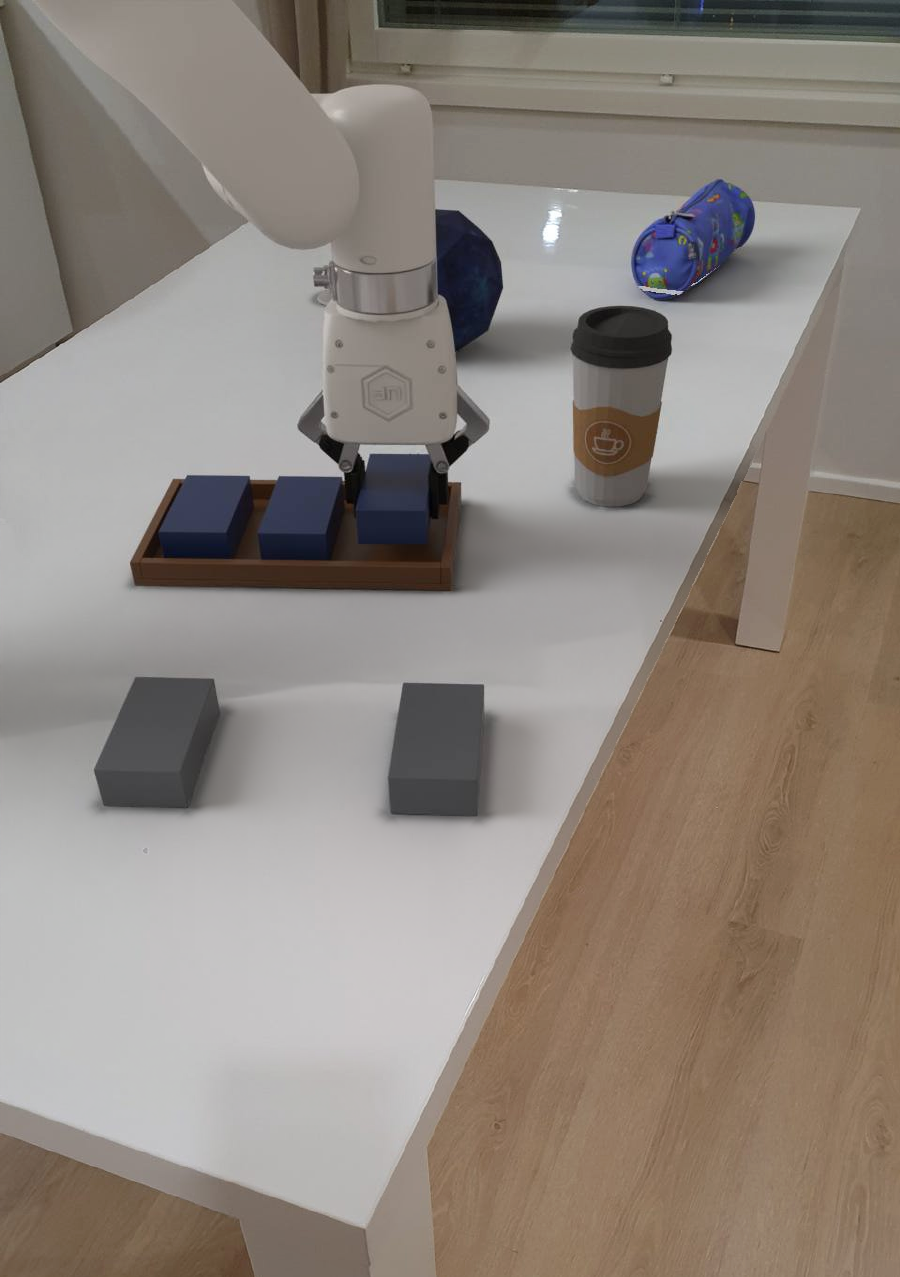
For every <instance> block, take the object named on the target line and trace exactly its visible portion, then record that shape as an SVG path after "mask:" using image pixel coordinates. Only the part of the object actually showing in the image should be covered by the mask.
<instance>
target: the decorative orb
mask: <svg viewBox="0 0 900 1277" xmlns="http://www.w3.org/2000/svg"><path fill="white" fill-rule="evenodd" d="M435 222H436V256H437V284H438V295H441V296H442V297H444V298H445V300H446V303H447V307H448V311H449V315H450V320H451V326H452V332H453V339H454V347H455V354H456V353H457V352H459V351H461V350H462V349H463V348H466V346H468V345H469V344H471V343H472V342H474V341H475V340H477V339H478V338H479V337H481V336H483V335H484V334H485V333H487V332H488V331H489V329H490V327H491V324H492V321H493V318H494V316H495V313H496V309H497V308H498V304H499V301H500V298H501V295H502V292H503V290H504V278H503V267H502V260H501V258H500V256H499V254H498V251H497V249H496V247H495V245H494V241H493V240H491V238H490V237H488V235H487V234H486V233H485V232H484V231H483V230H482V229H481V228H480V227H479V226H478V225H476V224H475V223H474V222H473V221H471V220H470V218H468V217H467V216H466V215H465V214H464V213H462V212H461V211H460V210H455V209H437V208H435Z"/></svg>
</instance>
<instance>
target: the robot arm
mask: <svg viewBox="0 0 900 1277" xmlns="http://www.w3.org/2000/svg"><path fill="white" fill-rule="evenodd" d="M31 2H32V3H34V5H35V6H36V7H37V8H38V9H39V11H40V12H41V13H42V14H43V15H44V16H45V17H46V18H47V19H48V20H49V21H50V22H51V24H53V25H54V27H56V29H57V30H58V31H60V33H61V34H62V35H64V36H65V37H66V38H67V39H68V40H69V41H70V43H71V44H72V45H74V46H75V47H76V49H78V51H80V53H82V54H83V55H84V56H85V57H86V58H87V59H88V60H89V61H91V62H92V63H93V64H94V65H96V67H98V68H99V69H100V70H102V71H103V72H105V73H106V74H107V75H108V76H109V77H111V78H112V79H113V80H114V81H116V82H117V83H118V84H120V85H121V86H122V87H123V88H125V89H126V90H127V91H128V92H129V93H131V94H132V95H133V96H134V97H135V98H136V99H138V101H140V103H142V104H143V105H144V106H145V107H146V108H147V109H148V110H149V111H150V112H151V113H152V114H153V115H154V116H155V117H156V118H157V119H158V120H159V121H160V122H161V123H162V124H163V125H164V126H165V127H166V128H167V129H168V130H169V131H170V132H171V133H172V134H173V135H174V136H175V138H177V139H178V140H179V141H180V142H181V143H182V144H183V146H184V147H186V149H187V150H188V151H189V152H190V153H191V154H192V155H193V156H194V157H195V158H196V159H197V160H198V161H199V163H200V164H201V166H202V169H203V171H204V174H205V175H204V176H205V177H206V179H207V180H208V182H209V184H210V186H211V188H212V190H214V192H215V193H216V194H217V195H218V197H219V198H221V200H222V201H223V202H224V203H226V204H227V205H228V206H229V207H230V208H231V209H233V211H235V212H236V213H238V214H239V215H240V216H241V217H243V218H244V219H245V220H246V221H248V222H249V223H250V224H251V225H252V226H253V227H255V228H256V229H257V230H258V231H259V232H260V233H261V234H262V235H263V236H265V237H266V238H267V239H268V240H270V241H272V242H274V243H275V244H277V245H279V246H282V247H285V248H288V249H291V250H301V251H304V250H315V249H318V248H321V247H324V246H326V245H328V244H330V252H331V259H332V260H330V261H329V263H328V264H324V265H323V267H321V266H319V267H318V266H315V267H313V270H312V279H313V286H314V287H315V288H323V289H325V290H330V293H333V299H331V300H330V301H329V303H328V304H327V305H325V308H324V315H323V322H322V323H323V324H322V338H321V339H322V342H321V344H322V346H321V364H322V365H321V367H322V370H321V371H322V390H321V391H320V392H319V394H318V395H317V396H316V397H315V398H314V399H313V401H312V402H311V403H310V404H309V406H308V407H307V408H306V409H305V411H304V412H303V413H302V414H301V415H300V417H299V419H298V422H297V423H296V424H297V427H296V428H297V430H298V431H299V432H300V433H302V434H303V435H304V436H305V437H307V438H308V439H309V440H310V441H311V442H313V443H315V444H316V445H318V447H319V449H320V450H321V451H322V452H323V453H325V454H326V455H327V456H328V457H329V458H330V459H331V460H332V461H333V462H334V463H336V464H337V465H338V466H337V467H338V469H339V471H341V472H342V473H343V481H345V492H346V502H347V504H353V505H354V517H355V518H356V511H355V510H356V506H357V502H358V499H359V495H360V491H361V488H362V484H363V480H364V476H365V471H366V462H365V459H363V456H361V454H360V453H359V450H360V447H361V445H368V446H371V445H372V446H425V449H426V451H427V454H429V456H430V459H431V462H430V468H429V474H428V487H429V503H430V517H432V519H439V512H440V505H448V482H449V470H450V467H451V466H452V465H453V464H455V463H456V462H457V461H458V460H459V458H461V457H462V456H463V455H464V454H465V453H466V452H467V451H468V450H469V448H470V447H471V446H472V445H474V444H476V443H477V442H478V441H479V440H480V439H481V438H482V437H484V436H485V435H486V434H487V433H488V432H489V430H490V424H491V420H490V418H489V416H488V415H487V414H486V413H485V412H484V411H483V410H482V409H481V408H480V407H479V405H477V403H475V401H474V400H473V399H472V398H471V397H470V396H469V395H468V394H467V393H466V392H465V391H464V390H463V389H462V388H461V386H460V385H459V383H458V369H457V359H456V358H457V357H456V353H455V347H454V339H453V332H452V326H451V320H450V315H449V311H448V307H447V303H446V300H445V298H444V297H442V296H441V295H438V284H437V256H436V222H435V209H436V187H435V184H436V183H435V148H434V122H433V120H434V119H433V111H432V108H431V105H430V103H429V101H428V99H427V98H426V96H425V95H424V94H423V93H422V92H420V91H419V90H417V89H415V88H412V87H409V86H405V85H399V84H386V83H385V84H383V83H382V84H380V83H379V84H377V83H376V84H362V85H356V86H355V85H354V86H349V87H346V88H343V89H340V90H339V89H338V90H337V91H335V92H332V93H310V91H309V90H308V89H307V87H306V86H305V85H304V83H303V82H302V81H301V80H300V78H299V77H298V76H297V75H296V73H295V72H294V71H293V70H292V68H291V67H290V66H289V65H288V63H287V62H286V61H285V59H283V57H282V56H281V55H280V54H279V53H278V51H277V50H276V49H275V48H274V46H272V44H271V43H270V42H269V41H268V39H266V37H265V36H264V35H263V34H262V32H260V30H259V29H258V28H257V26H256V25H255V24H254V23H253V22H252V21H251V20H250V19H249V17H247V15H246V14H245V13H244V12H243V11H242V9H240V7H239V6H238V5H237V4H236V3H235V1H233V0H31ZM458 416H459V417H460V419H462V421H463V422H464V423H465V425H464V426H463V428H461V429H460V430H456V429H457V423H458ZM323 419H324V423H323V421H322V420H323Z"/></svg>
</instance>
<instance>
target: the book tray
mask: <svg viewBox="0 0 900 1277" xmlns="http://www.w3.org/2000/svg"><path fill="white" fill-rule="evenodd" d="M184 480H185V478H172V480H171V482H170V484H169V486H168V488H167V490H166V491H165V494H164V495H163V497H162V499H161V501H160V503H159V505H158V507H157V509H156V511H155V513H154V514H153V517H152V518H151V520H150V522H149V524H148V526H147V528H146V530H145V532H144V534H143V535H142V538H141V540H140V541H139V544H138V546H137V548H136V549H135V552H134V554H133V555H132V557H131V558H130V561H129V565H130V566H129V567H130V571H131V576H132V579H133V583H134V586H167V587H168V586H171V587H175V586H177V587H226V588H227V587H233V588H234V587H235V588H288V589H344V590H345V589H347V590H348V589H349V590H350V589H351V590H352V589H353V590H406V591H409V590H411V591H451V590H452V585H453V577H454V569H455V562H456V561H455V560H456V551H457V543H458V536H459V527H460V519H461V510H462V482H461V481H448V505H440V512H439V519H432V517H431V521H430V527H429V534H428V540H427V545H396V544H358V536H357V523H356V518H355V517H354V505H353V504H347V502H346V492H345V480H342V481H343V493H344V505H345V509H344V513H343V517H342V520H341V524H340V528H339V531H338V535H337V539H336V542H335V546H334V550H333V553H332V557H331V561H313V560H261V555H260V548H259V541H258V534H257V533H258V530H259V528H260V525H261V522H262V520H263V517H264V514H265V512H266V509H267V506H268V504H269V501H270V498H271V496H272V493H273V490H274V488H275V485H276V482H277V480H278V479H250V481H251V488H252V495H253V503H254V509H253V511H252V514H251V516H250V519H249V521H248V524H247V527H246V529H245V532H244V534H243V537H242V539H241V542H240V544H239V547H238V550H237V552H236V555H235V557H234V559H184V558H164V556H163V551H162V546H161V541H160V535H159V530H160V528H161V526H162V524H163V522H164V520H165V518H166V516H167V514H168V512H169V510H170V508H171V506H172V504H173V502H174V500H175V498H176V496H177V494H178V492H179V490H180V488H181V486H182V484H183V482H184Z"/></svg>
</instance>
